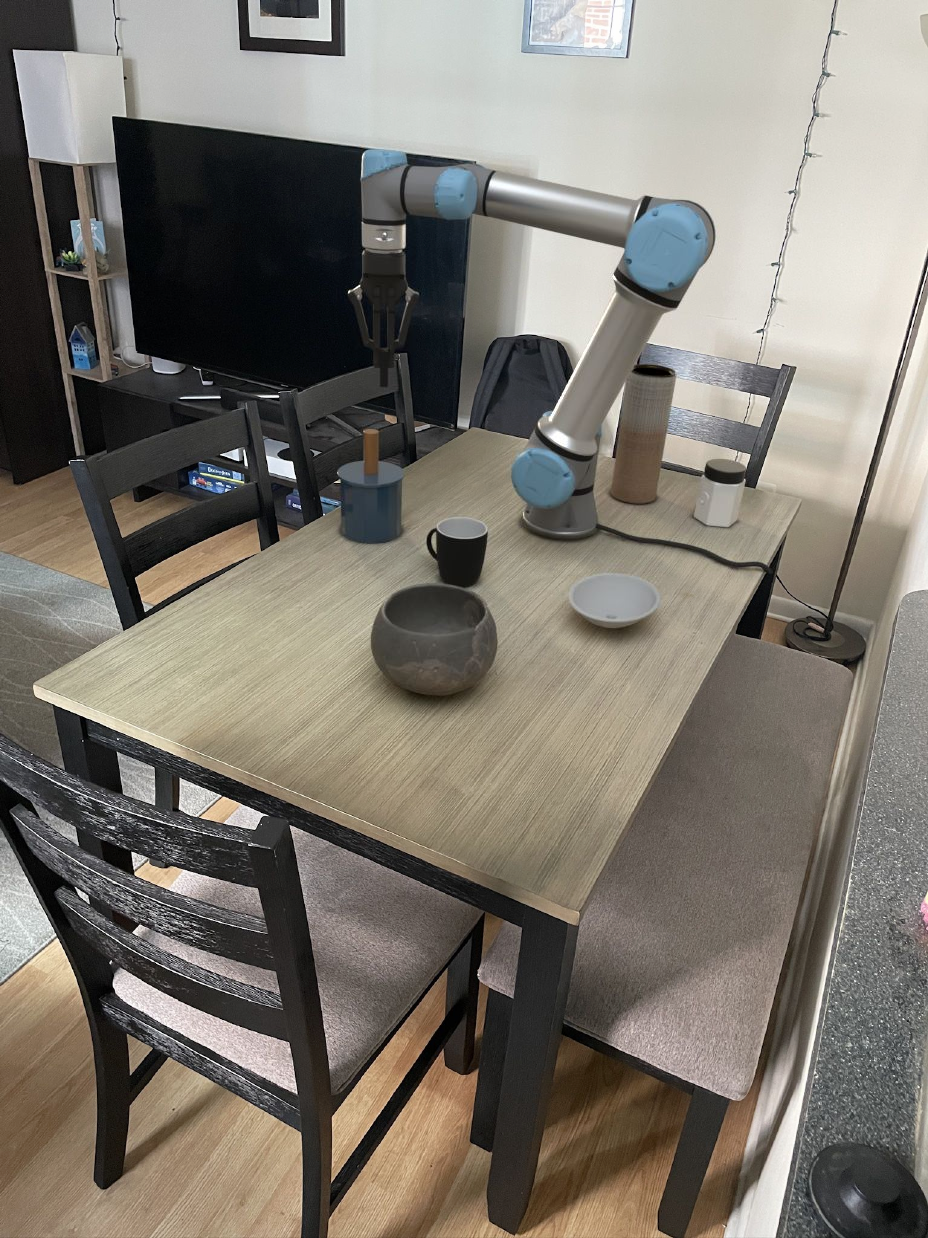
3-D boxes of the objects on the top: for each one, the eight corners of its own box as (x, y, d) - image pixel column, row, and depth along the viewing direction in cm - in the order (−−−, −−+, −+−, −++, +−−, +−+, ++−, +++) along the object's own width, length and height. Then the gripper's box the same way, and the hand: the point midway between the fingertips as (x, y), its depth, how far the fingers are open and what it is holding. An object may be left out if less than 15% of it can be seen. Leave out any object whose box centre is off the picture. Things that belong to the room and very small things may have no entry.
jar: (686, 513, 190) (696, 459, 184) (717, 508, 193) (728, 456, 187) (711, 530, 183) (723, 475, 177) (743, 525, 186) (756, 471, 180)
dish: (626, 659, 139) (631, 631, 136) (546, 628, 145) (549, 602, 143) (671, 615, 152) (676, 589, 149) (596, 589, 158) (599, 564, 156)
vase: (627, 483, 203) (646, 361, 189) (664, 497, 198) (686, 371, 184) (601, 494, 197) (618, 368, 183) (638, 508, 191) (659, 379, 177)
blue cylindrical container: (413, 531, 176) (414, 476, 170) (370, 548, 168) (370, 491, 162) (372, 513, 182) (372, 459, 176) (329, 529, 174) (327, 474, 168)
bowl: (510, 708, 126) (517, 632, 119) (385, 726, 121) (385, 647, 115) (473, 643, 140) (478, 572, 134) (360, 656, 136) (359, 583, 129)
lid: (417, 479, 170) (419, 432, 165) (370, 496, 162) (370, 447, 157) (371, 461, 177) (371, 416, 172) (323, 477, 169) (322, 429, 164)
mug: (494, 578, 160) (498, 526, 155) (464, 596, 154) (467, 543, 148) (441, 558, 166) (443, 507, 161) (410, 574, 159) (412, 522, 154)
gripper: (345, 251, 151) (348, 390, 163) (422, 254, 152) (419, 391, 164) (346, 245, 157) (348, 378, 169) (420, 247, 159) (417, 380, 171)
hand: (383, 384), depth 167 cm, fingers closed
